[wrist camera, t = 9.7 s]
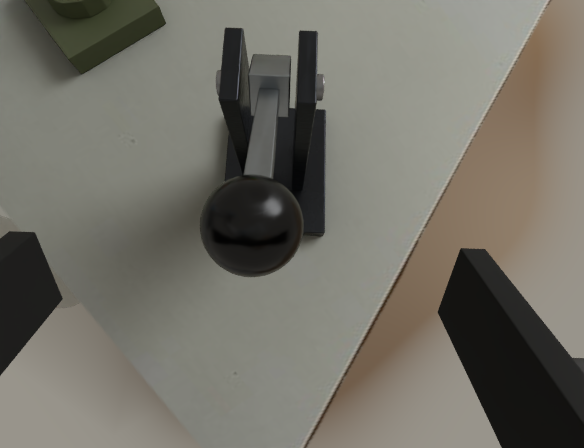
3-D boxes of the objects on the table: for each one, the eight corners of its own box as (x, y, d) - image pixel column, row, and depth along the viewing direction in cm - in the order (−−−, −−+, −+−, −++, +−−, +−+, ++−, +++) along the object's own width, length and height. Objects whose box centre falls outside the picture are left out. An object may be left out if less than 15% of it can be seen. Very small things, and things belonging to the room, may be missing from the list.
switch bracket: (323, 235, 31) (356, 175, 17) (223, 232, 31) (169, 168, 17) (324, 116, 34) (354, -25, 19) (232, 112, 34) (194, -32, 19)
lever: (300, 298, 12) (307, 230, 10) (199, 295, 12) (178, 226, 10) (300, 104, 22) (303, 44, 19) (244, 102, 22) (239, 41, 19)
